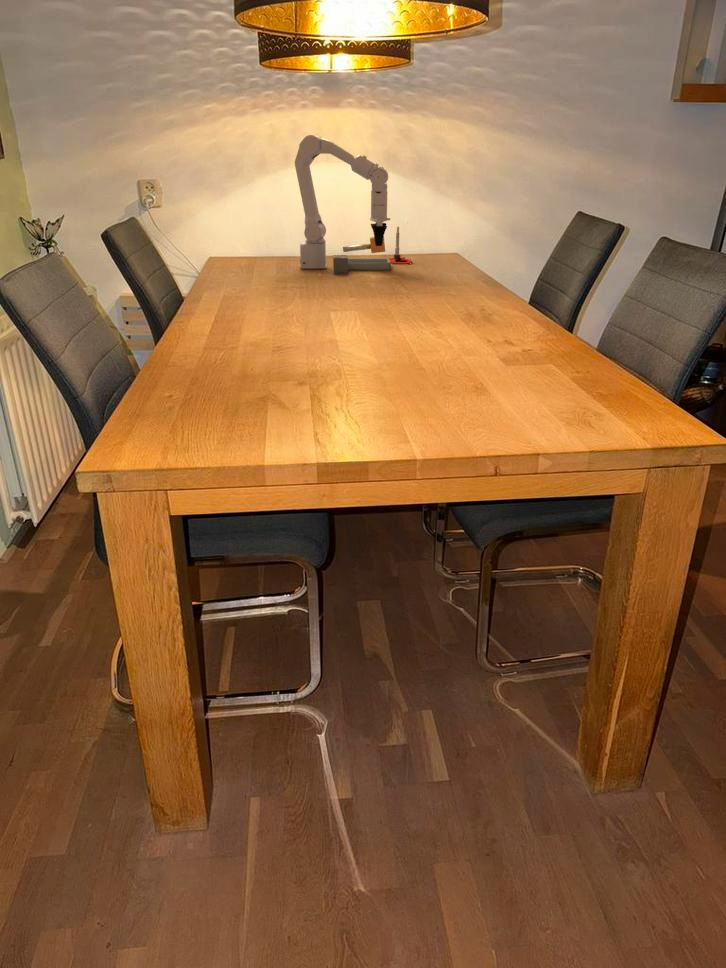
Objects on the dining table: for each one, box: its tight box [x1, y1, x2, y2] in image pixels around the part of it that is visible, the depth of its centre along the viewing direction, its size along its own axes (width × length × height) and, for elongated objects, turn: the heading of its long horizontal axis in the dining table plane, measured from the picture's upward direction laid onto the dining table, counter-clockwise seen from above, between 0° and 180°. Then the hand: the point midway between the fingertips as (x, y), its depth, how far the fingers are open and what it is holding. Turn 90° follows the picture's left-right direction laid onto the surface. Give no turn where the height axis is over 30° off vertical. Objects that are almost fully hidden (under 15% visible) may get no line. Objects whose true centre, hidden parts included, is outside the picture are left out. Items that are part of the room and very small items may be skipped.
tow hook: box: [389, 226, 413, 265], centre depth 280 cm, size 8×13×9 cm
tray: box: [348, 257, 392, 271], centre depth 271 cm, size 20×11×2 cm, turn 92°
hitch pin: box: [342, 236, 386, 254], centre depth 266 cm, size 15×4×5 cm, turn 91°
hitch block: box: [332, 254, 349, 275], centre depth 262 cm, size 5×7×5 cm
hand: (378, 245), depth 266 cm, fingers closed on hitch pin, 4 cm apart
